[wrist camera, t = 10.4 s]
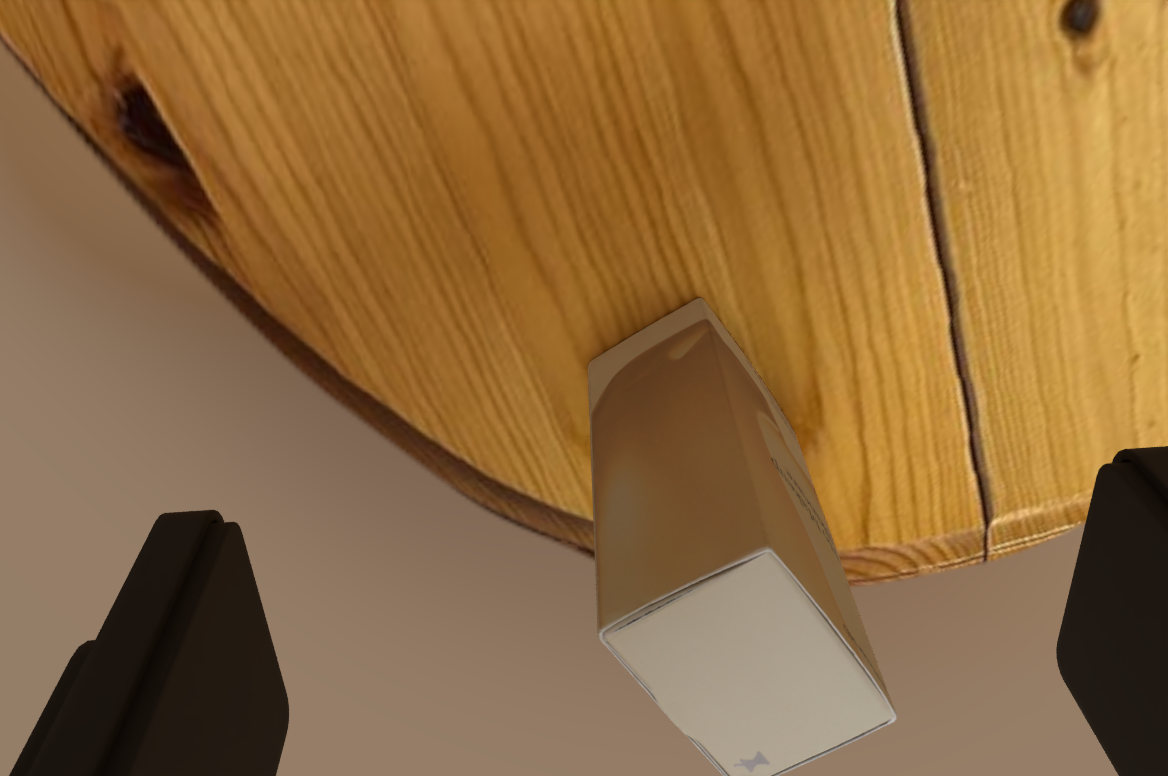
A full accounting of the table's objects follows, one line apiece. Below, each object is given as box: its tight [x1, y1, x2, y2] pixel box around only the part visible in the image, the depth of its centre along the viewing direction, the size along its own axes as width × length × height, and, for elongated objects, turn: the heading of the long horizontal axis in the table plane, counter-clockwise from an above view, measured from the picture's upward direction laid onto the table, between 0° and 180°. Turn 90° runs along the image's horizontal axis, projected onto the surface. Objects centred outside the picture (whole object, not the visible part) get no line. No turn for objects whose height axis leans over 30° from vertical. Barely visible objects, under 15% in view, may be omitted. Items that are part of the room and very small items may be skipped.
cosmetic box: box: [588, 298, 897, 776], centre depth 28 cm, size 6×4×12 cm
